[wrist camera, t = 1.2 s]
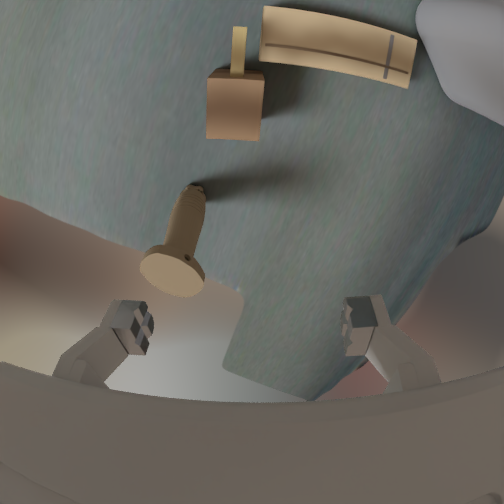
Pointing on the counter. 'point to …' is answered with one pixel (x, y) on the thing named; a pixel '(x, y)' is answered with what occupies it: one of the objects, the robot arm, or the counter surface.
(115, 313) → the robot arm
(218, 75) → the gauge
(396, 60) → the board
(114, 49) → the counter surface
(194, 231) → the handle
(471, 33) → the plastic bottle
